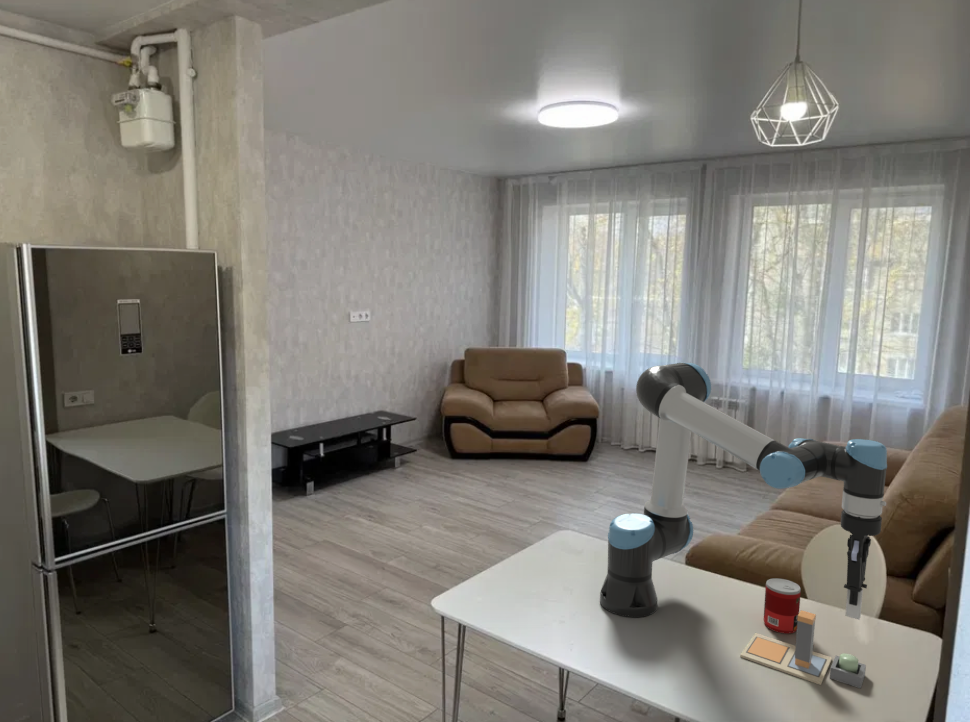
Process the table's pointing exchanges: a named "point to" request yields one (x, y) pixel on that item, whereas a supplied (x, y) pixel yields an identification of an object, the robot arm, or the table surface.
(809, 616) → the marker
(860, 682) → the button collar
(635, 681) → the table surface
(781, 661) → the sheet
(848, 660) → the button
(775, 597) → the canned food
